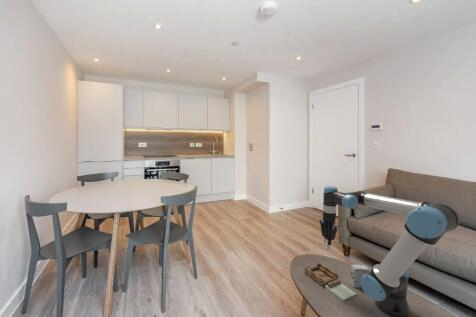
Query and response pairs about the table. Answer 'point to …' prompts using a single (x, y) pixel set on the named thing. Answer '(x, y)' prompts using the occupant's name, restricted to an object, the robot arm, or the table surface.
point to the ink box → (357, 274)
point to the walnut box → (321, 274)
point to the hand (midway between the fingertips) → (327, 249)
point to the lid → (340, 290)
